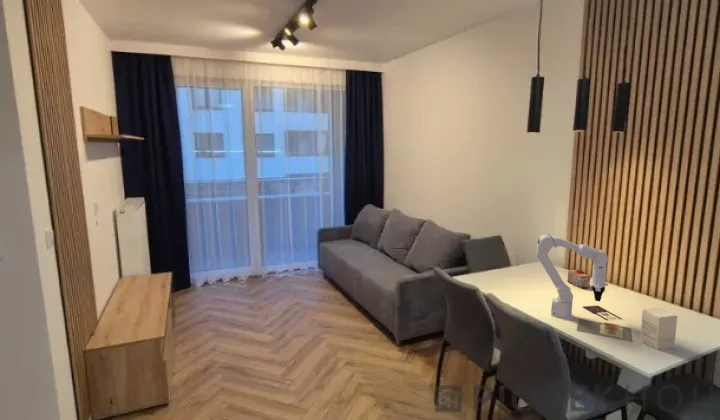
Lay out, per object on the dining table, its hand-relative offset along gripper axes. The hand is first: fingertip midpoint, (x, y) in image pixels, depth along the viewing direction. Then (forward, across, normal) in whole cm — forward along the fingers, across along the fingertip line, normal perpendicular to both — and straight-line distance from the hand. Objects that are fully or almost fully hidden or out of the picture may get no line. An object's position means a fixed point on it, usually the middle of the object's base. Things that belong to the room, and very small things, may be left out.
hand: (597, 300), depth 200 cm
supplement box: (+11, -15, -23) cm, 30 cm away
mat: (+10, -11, -3) cm, 16 cm away
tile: (+9, -7, -6) cm, 13 cm away
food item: (+11, +54, +12) cm, 56 cm away
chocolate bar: (+11, +11, -2) cm, 16 cm away
